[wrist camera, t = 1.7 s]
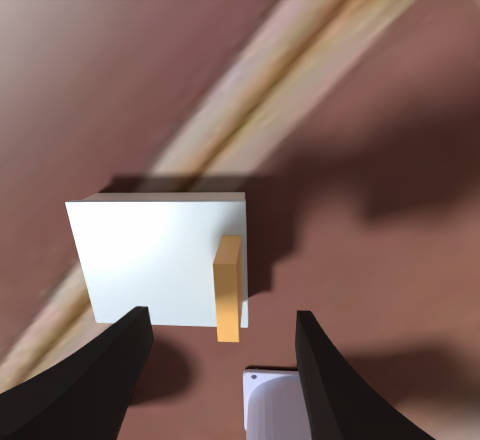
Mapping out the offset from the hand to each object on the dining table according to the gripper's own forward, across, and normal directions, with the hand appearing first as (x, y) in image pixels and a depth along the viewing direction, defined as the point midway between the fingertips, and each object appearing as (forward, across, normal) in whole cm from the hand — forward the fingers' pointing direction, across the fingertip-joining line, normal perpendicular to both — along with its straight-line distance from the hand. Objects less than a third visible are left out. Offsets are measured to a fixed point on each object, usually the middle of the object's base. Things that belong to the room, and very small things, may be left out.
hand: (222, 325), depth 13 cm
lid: (+6, +5, 0) cm, 8 cm away
